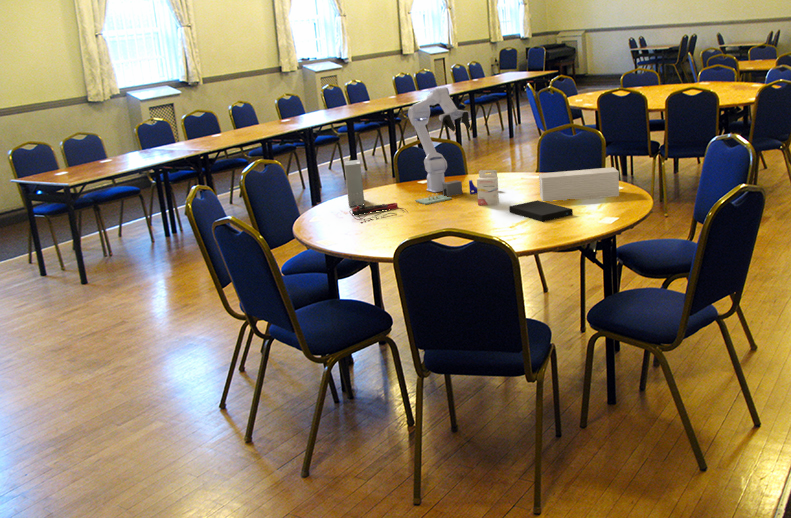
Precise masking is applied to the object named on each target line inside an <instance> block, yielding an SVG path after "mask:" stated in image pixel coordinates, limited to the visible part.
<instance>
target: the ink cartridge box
mask: <svg viewBox="0 0 791 518" xmlns="http://www.w3.org/2000/svg"><path fill="white" fill-rule="evenodd" d="M498 179H499V178H498V171H497V169H485V170H484V169H483V170H479V171H478V178H476V187H477V193H478V194H477V205H478V206H498V204H499V203H500V198H499V182H498V181H499V180H498Z"/></svg>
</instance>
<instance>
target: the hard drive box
mask: <svg viewBox="0 0 791 518" xmlns="http://www.w3.org/2000/svg"><path fill="white" fill-rule="evenodd" d="M343 163H344V174H345V181H346V182H345V183H346V193H347V201H348V207H349V206H352V207H355V206H354V205H363V204H366V203H365V196H364V195H365V194H364V185H363V176H362V168H361V167H362V166H361V161H360V159H355V160H352V159H351V160H347V161H343Z"/></svg>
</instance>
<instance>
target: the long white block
mask: <svg viewBox="0 0 791 518" xmlns="http://www.w3.org/2000/svg"><path fill="white" fill-rule="evenodd" d="M538 180H539V197H541V198H540V199H542V200H541V201H542V202H543V201H550V202H554V201H553V200H563V201H568V200H567V199H575V200H586V198H587V199H598V198H599V199H600V198H610V197H620V171H619V170H617V169H616V168H615V167H613V166H612V167H601V168H590V169H589V168H588V169H580V170H579V169H577V170H567V171H566V170H564V171H554V172H543V173H541V172H540V173H539V174H538Z"/></svg>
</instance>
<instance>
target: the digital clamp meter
mask: <svg viewBox="0 0 791 518" xmlns="http://www.w3.org/2000/svg"><path fill="white" fill-rule="evenodd" d="M397 207H398V208H397ZM389 209H390V210H389ZM392 209H394V210H402V211H404V212H405V211H406V212H408V213H409V211H408V210H407V209H406V208H403V207H399V206H398V203H397V202H393V203H386V204H385V203H382V204H375V205H370V206H365V205H362V206H355V207H354V208H353V209H350V210H349V211H348V212H349V214H350V215H351V216H352V217H353V219H355V220H357V221H360V223H361V224H364V223H363V222H365V223H367V222H366V221H368V222H370V220H372V221H374V219H371V218H372V217H371V218H369V219H370V220H365V219H366V218H365V217H367V216H368V215H369V213H370V212H376V211H382V210H387V211H382V212H379V213H377V212H376V213H377V214H375V215H374V216H375V218H376V219H377V220H380V219H379V217H378V216H379V215H381V214H384V213H386V212H388V211H393V210H392ZM364 213H368V214H364ZM353 214H354V215H359V214H364V217H360V215H359V216H357V217H358V218H356V216H354V215H353ZM370 214H371V213H370ZM390 214H391V215H390ZM395 215H396V213H394V212H389V213H386V214H384V215H383V217H382V216H381V219H386V218H389V217H393V216H395ZM376 216H377V217H378V218H377V217H376ZM361 220H364V221H361Z"/></svg>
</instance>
